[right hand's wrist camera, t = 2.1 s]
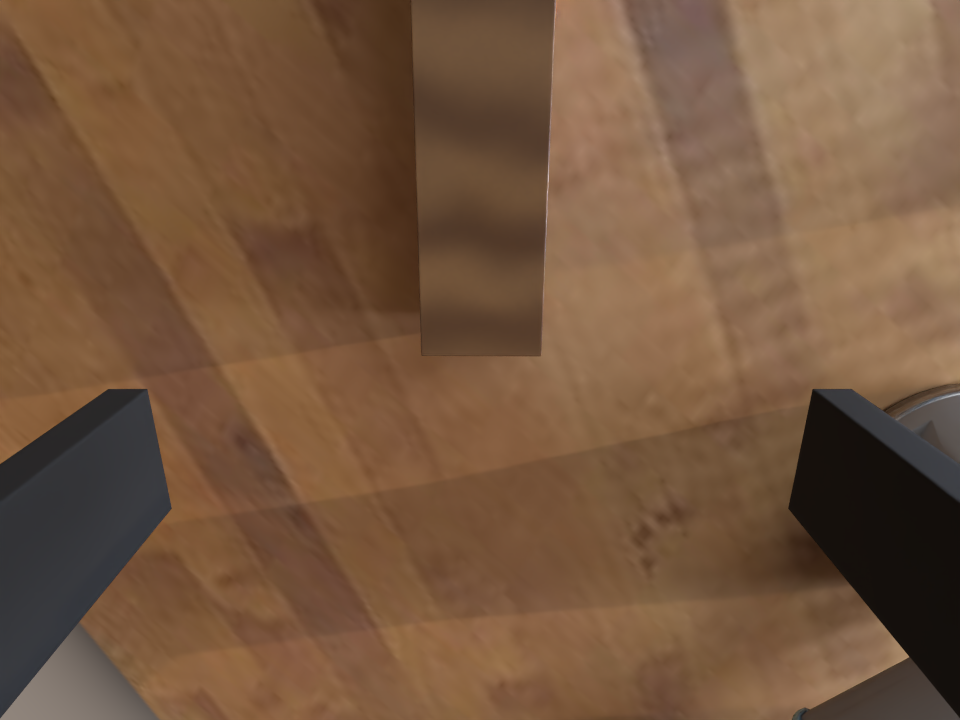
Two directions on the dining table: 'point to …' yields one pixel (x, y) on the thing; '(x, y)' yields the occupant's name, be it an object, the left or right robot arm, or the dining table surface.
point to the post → (482, 172)
